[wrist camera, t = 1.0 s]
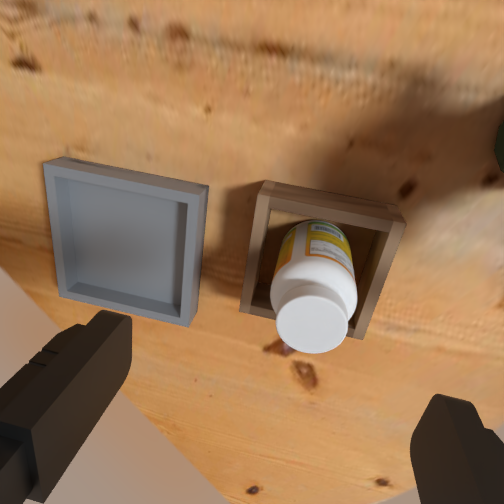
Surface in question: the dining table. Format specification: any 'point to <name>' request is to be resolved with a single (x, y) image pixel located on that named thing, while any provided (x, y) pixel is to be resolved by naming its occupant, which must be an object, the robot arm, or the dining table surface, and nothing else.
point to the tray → (127, 238)
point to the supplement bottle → (314, 287)
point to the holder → (333, 209)
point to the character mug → (500, 147)
